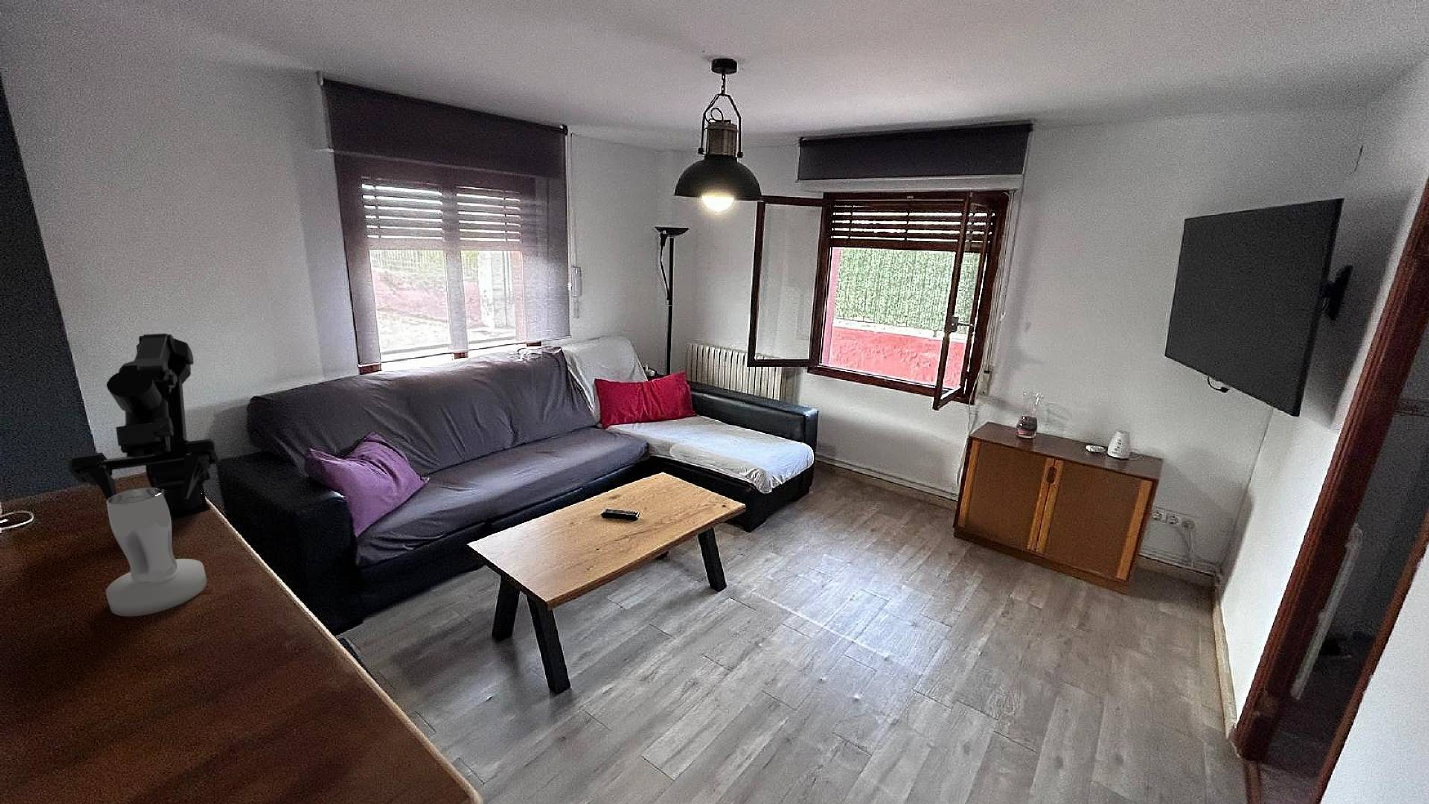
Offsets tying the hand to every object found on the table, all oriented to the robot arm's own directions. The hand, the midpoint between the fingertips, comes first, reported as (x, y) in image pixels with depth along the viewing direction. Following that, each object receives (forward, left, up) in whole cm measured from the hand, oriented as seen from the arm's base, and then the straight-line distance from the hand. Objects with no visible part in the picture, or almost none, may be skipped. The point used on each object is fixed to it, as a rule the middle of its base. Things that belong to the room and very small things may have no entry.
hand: (150, 503), depth 102 cm
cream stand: (+3, +7, -13) cm, 15 cm away
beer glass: (+3, +7, -10) cm, 13 cm away
